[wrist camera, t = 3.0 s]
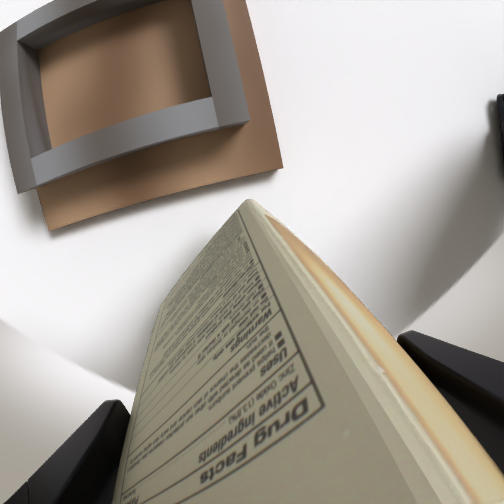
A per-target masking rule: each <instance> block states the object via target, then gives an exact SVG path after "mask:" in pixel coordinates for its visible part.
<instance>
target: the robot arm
mask: <svg viewBox="0 0 504 504" xmlns="http://www.w3.org/2000/svg"><path fill="white" fill-rule="evenodd" d="M497 104H498V110H499V117H500V125H501V134H502V144H503V157H504V94H498V96H497ZM397 343H398V344H399V345H400V346H401V347H402V348H403V349H404V351H405V352H406V353H407V354H408V355H409V356H410V357H411V359H412V360H413V361H414V362H415V363H416V364H417V365H418V367H419V368H420V369H421V370H422V371H423V373H424V374H425V375H426V376H427V377H428V379H429V380H430V381H431V382H432V383H433V385H434V386H435V387H436V388H437V389H438V391H439V392H440V393H441V394H442V396H443V397H444V398H445V399H446V401H447V402H448V403H449V404H450V405H451V407H452V408H453V409H454V410H455V412H456V413H457V414H458V415H459V417H460V418H461V419H462V421H463V422H464V423H465V424H466V426H467V427H468V428H469V429H470V431H471V432H472V433H473V435H474V436H475V437H476V438H477V440H478V441H479V442H480V444H481V445H482V446H483V448H484V449H485V450H486V451H487V453H488V454H489V455H490V457H491V458H492V459H493V461H494V462H495V463H496V465H497V466H498V467H499V469H500V470H501V471H502V473H503V474H504V362H501V361H498V360H495V359H492V358H489V357H487V356H484V355H481V354H478V353H475V352H472V351H469V350H467V349H464V348H461V347H458V346H455V345H452V344H449V343H447V342H444V341H441V340H438V339H436V338H433V337H430V336H427V335H424V334H421V333H419V332H416V331H412V330H411V331H408V332H405V333H402V334H400V335H399V336H398V338H397ZM130 416H131V415H130V414H129V412H128V411H127V409H126V408H125V406H124V405H123V403H122V402H121V401H120V400H107V401H105V402H103V403H102V404H101V405H100V406H99V408H98V409H97V410H96V411H95V412H94V413H93V414H92V415H91V416H90V417H89V418H88V419H87V420H86V421H85V422H84V423H83V424H82V425H81V426H80V427H79V428H78V429H77V430H76V431H75V432H74V433H73V434H72V435H71V436H70V437H69V438H68V439H67V440H66V442H64V444H62V445H61V446H60V447H59V449H57V450H56V452H55V453H54V454H53V455H52V456H51V457H50V458H49V459H48V460H47V461H46V462H45V463H44V464H43V465H42V466H41V467H40V468H39V469H38V470H37V471H36V472H35V473H34V474H33V475H32V476H31V477H30V478H29V479H28V482H25V483H24V484H23V485H22V486H21V487H20V488H19V489H18V490H17V491H16V492H15V493H14V494H13V495H12V496H11V497H10V498H9V499H8V500H7V501H6V502H5V503H4V504H112V501H113V496H114V490H115V485H116V479H117V474H118V469H119V464H120V459H121V455H122V450H123V445H124V441H125V437H126V432H127V428H128V424H129V420H130Z"/></svg>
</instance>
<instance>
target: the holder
mask: <svg viewBox="0 0 504 504" xmlns="http://www.w3.org/2000/svg"><path fill="white" fill-rule="evenodd" d="M0 96H1V106H2V114H3V122H4V129H5V136H6V142H7V147H8V153H9V158H10V163H11V168H12V172H13V177H14V181H15V185H16V189H17V193H18V194H19V193H22V192H25V191H28V190H32V189H35V188H37V192H38V196H39V199H40V203H41V206H42V210H43V213H44V217H45V220H46V223H47V226H48V230H49V231H51V230H54V229H57V228H60V227H63V226H66V225H69V224H72V223H75V222H78V221H81V220H84V219H87V218H90V217H93V216H96V215H100V214H103V213H106V212H109V211H113V210H116V209H119V208H123V207H126V206H129V205H133V204H136V203H140V202H143V201H147V200H150V199H154V198H158V197H161V196H165V195H169V194H173V193H177V192H180V191H184V190H188V189H192V188H196V187H200V186H204V185H208V184H213V183H217V182H221V181H225V180H230V179H234V178H239V177H243V176H248V175H252V174H257V173H262V172H267V171H272V170H277V169H282V168H283V164H282V159H281V153H280V148H279V143H278V139H277V134H276V129H275V124H274V119H273V115H272V110H271V105H270V101H269V96H268V92H267V87H266V83H265V78H264V74H263V70H262V65H261V61H260V57H259V53H258V49H257V45H256V40H255V36H254V32H253V28H252V24H251V21H250V17H249V13H248V9H247V5H246V1H245V0H54V1H52V2H50V3H48V4H46V5H44V6H42V7H41V8H39V9H37V10H35V11H33V12H32V13H30V14H28V15H26V16H25V17H23V18H21V19H20V20H18V21H17V22H15V23H13V24H12V25H10V26H9V27H7V28H6V29H4V30H3V31H1V32H0Z"/></svg>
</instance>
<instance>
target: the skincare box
mask: <svg viewBox="0 0 504 504" xmlns="http://www.w3.org/2000/svg"><path fill="white" fill-rule="evenodd" d="M112 504H504V474H503V473H502V471H501V470H500V469H499V467H498V466H497V465H496V463H495V462H494V461H493V459H492V458H491V457H490V455H489V454H488V453H487V451H486V450H485V449H484V448H483V446H482V445H481V444H480V442H479V441H478V440H477V438H476V437H475V436H474V435H473V433H472V432H471V431H470V429H469V428H468V427H467V426H466V424H465V423H464V422H463V421H462V419H461V418H460V417H459V415H458V414H457V413H456V412H455V410H454V409H453V408H452V407H451V405H450V404H449V403H448V402H447V401H446V399H445V398H444V397H443V396H442V394H441V393H440V392H439V391H438V389H437V388H436V387H435V386H434V385H433V383H432V382H431V381H430V380H429V379H428V377H427V376H426V375H425V374H424V373H423V371H422V370H421V369H420V368H419V367H418V365H417V364H416V363H415V362H414V361H413V360H412V359H411V357H410V356H409V355H408V354H407V353H406V352H405V351H404V349H403V348H402V347H401V346H400V345H399V344H398V343H397V341H396V340H395V339H394V338H393V337H392V336H391V335H390V333H389V332H388V331H387V330H386V329H385V328H384V327H383V326H382V324H381V323H380V322H379V321H378V320H377V319H376V318H375V317H374V316H373V315H372V313H371V312H370V311H369V310H368V309H367V308H366V307H365V306H364V305H363V303H362V302H361V301H360V300H359V299H358V298H357V297H356V296H355V295H354V293H353V292H352V291H351V290H350V289H349V288H348V287H347V286H346V285H345V284H344V283H343V282H342V280H341V279H340V278H339V277H338V276H337V275H336V274H335V273H334V272H333V271H332V270H331V269H330V268H329V267H328V266H327V265H326V263H325V262H324V261H323V260H322V259H321V258H320V257H319V256H318V255H317V254H316V253H314V252H313V251H312V250H311V249H310V248H309V247H308V246H307V245H306V244H305V243H304V242H302V241H301V240H300V239H299V238H298V237H297V236H296V235H295V234H294V233H293V232H291V231H290V230H289V229H288V228H287V227H286V226H285V225H284V224H282V223H281V222H280V221H279V220H278V219H276V218H275V217H274V216H273V215H272V214H270V213H269V212H268V211H267V210H266V209H264V208H263V207H262V206H261V205H259V204H258V203H257V202H256V201H254V200H252V199H247V200H245V201H244V202H243V203H242V204H241V205H240V207H239V208H238V209H237V210H236V211H235V212H234V213H233V214H232V215H231V217H230V218H229V219H228V220H227V221H226V222H225V224H224V225H223V226H222V227H221V228H220V229H219V231H218V232H217V233H216V234H215V235H214V236H213V238H212V239H211V240H210V241H209V242H208V244H207V245H206V246H205V247H204V249H203V250H202V251H201V252H200V254H199V255H198V256H197V257H196V259H195V260H194V261H193V262H192V264H191V265H190V266H189V268H188V269H187V270H186V271H185V273H184V274H183V275H182V277H181V278H180V279H179V281H178V282H177V283H176V285H175V286H174V287H173V289H172V290H171V292H170V293H169V295H168V296H167V297H166V299H165V300H164V301H163V303H162V305H161V307H160V310H159V313H158V316H157V320H156V323H155V326H154V329H153V333H152V336H151V340H150V344H149V347H148V351H147V354H146V358H145V361H144V365H143V369H142V372H141V376H140V380H139V384H138V387H137V391H136V395H135V399H134V403H133V407H132V411H131V416H130V420H129V424H128V428H127V432H126V437H125V441H124V445H123V450H122V455H121V459H120V464H119V469H118V474H117V479H116V485H115V490H114V496H113V501H112Z"/></svg>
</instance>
